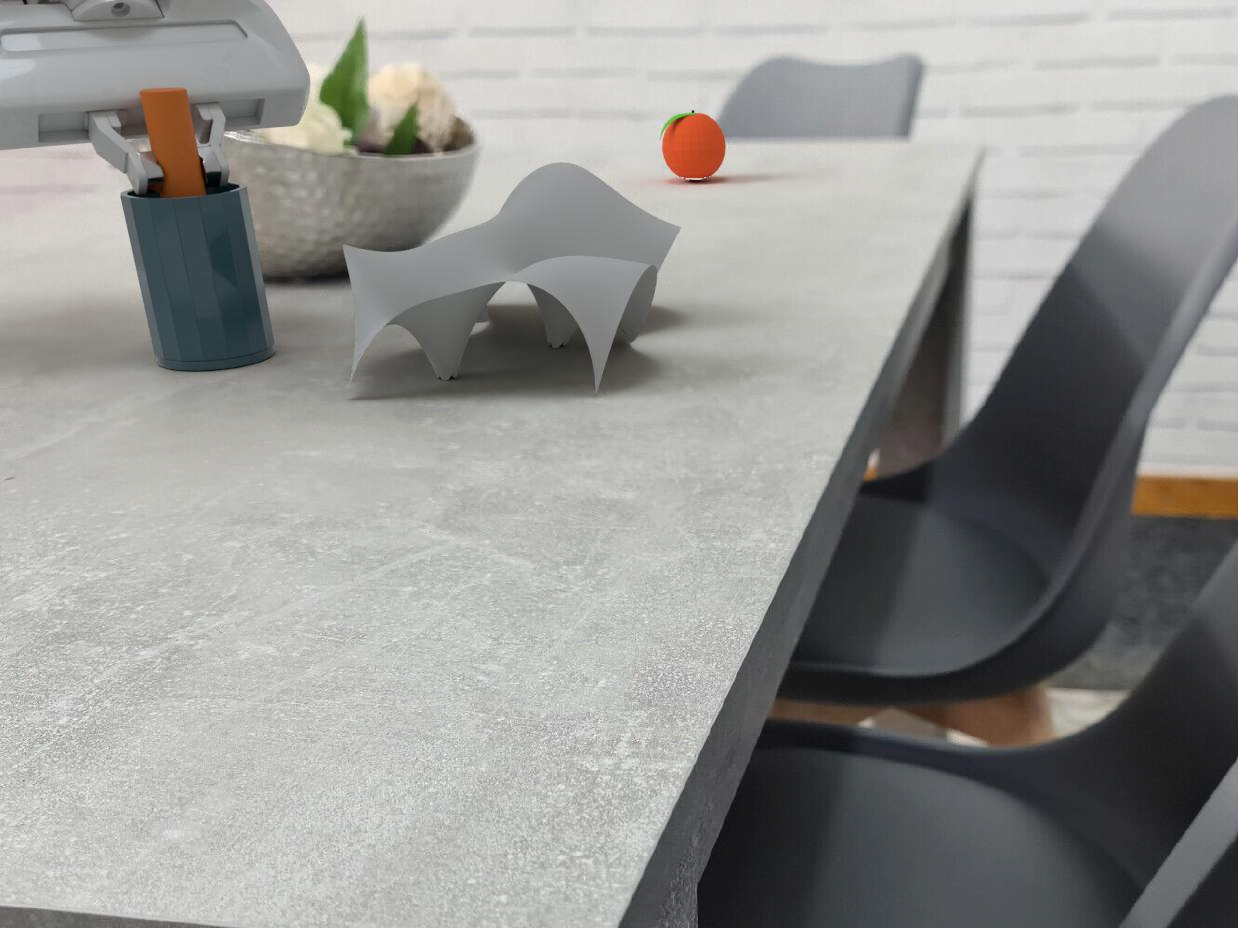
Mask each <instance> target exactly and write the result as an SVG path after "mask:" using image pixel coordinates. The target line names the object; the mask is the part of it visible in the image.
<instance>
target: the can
mask: <svg viewBox="0 0 1238 928" xmlns="http://www.w3.org/2000/svg"><path fill="white" fill-rule="evenodd" d="M205 191H206V195H200V196H188V197H172V198H161V196H160V192H157V193H149V194H141V195H137V194H136V193H135V191H134V189H133V188H130V189H127V190H124V191H121V192H120V195H119V197H120V202H121V207H122V211H123V216H124V220H125V224H126V229H127V233H128V239H129V243H130V248H131V251H132V257H133V261H134V267H135V269H136V275H137V279H138V284H139V288H140V289H139V290H140V293H141V299H142V302H143V307H144V312H145V316H146V317H145V318H146V320H147V321H146V322H147V325H148V330H149V335H150V340H151V344H152V349H153V353H154V356H155V360H156V363H157V365H158V366H159V367H161V368H164V369H168V370H174V371H186V372H187V371H188V372H199V371H200V372H202V371H203V372H205V371H216V370H226V369H233V368H238V367H239V368H240V367H244V366H249V365H253V364H256V363H260V362H262V361H265V360H267V359H269V358H271V357H272V356H274V354H275V353H276V347H275V339H274V333H273V328H272V321H271V316H270V310H269V305H268V298H267V292H266V288H265V287H266V286H265V281H264V276H263V270H262V266H261V265H262V264H261V260H260V254H259V249H258V247H259V246H258V241H257V238H256V231H255V226H254V219H253V213H252V208H251V203H250V197H249V192H248V186H247V184H245V183H241V182H236V181H228V185H227V186H219V187H208V188H205Z"/></svg>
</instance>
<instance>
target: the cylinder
mask: <svg viewBox="0 0 1238 928" xmlns="http://www.w3.org/2000/svg"><path fill="white" fill-rule="evenodd" d="M140 97H141V102H142V107H143V112H144V117H145V122H146V127H147V132H148V137H149V138H148V142H149V147H150V151H153V153H154V155H155V157H156V158H157V164H158V165H159V166H160V167H161V169H162V172H163V175H164V183H163V184H162V187H163V190H162V192H160V196H161V198H172V197H188V196H200V195H206V191H205V186H204V180H203V175H202V170H201V164H200V159H199V153H198V148H197V147H198V143H197V137H196V135H195V132H194V127H193V121H192V116H191V111H190V105H189V100H188V95H187V90H186V89H185V88H154V89H144V90H141V91H140Z"/></svg>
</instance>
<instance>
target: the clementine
mask: <svg viewBox="0 0 1238 928" xmlns="http://www.w3.org/2000/svg"><path fill="white" fill-rule="evenodd" d="M660 131H661V133H660V135H659V140H661V139H662V142H661V143H662V145H661V150H662V156H663V159H664V161H665V163H666V166H667V167H668V168H669V170H670V171H671V172H672V173H673V174H674V175H675V176H677V177H678V176H679V177H678V178H680V177H684V178H704V177H708V178H710V177H712V176H713V175H714V174H716V172H718V171H719V170H720V168H721V166H722V165H723V163H724V159H725V157H726V150H727V149H726V148H727V146H726V138H725V135H724V132H723V129H722V128H721V126H720V125H719V124H718V122H717V121H716V120H715V119H713V118H712V117H711V116H710V115H708V114H706V113H700V112H695V110H694V109H692V110H691V112H684V113H678V114H675V115H673V116H672V117H670V118H669V119H668V120H667V121H666V122H665V124H664V125H663V126H662V129H661V130H660ZM662 136H663V137H662ZM709 176H710V177H709Z"/></svg>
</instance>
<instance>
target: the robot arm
mask: <svg viewBox="0 0 1238 928" xmlns="http://www.w3.org/2000/svg"><path fill="white" fill-rule="evenodd" d="M293 40H294V39H292V37H291V34H289V32H288V30H287V28H286V27H285V26H284V24H283V22H282V21H281V19H280V18H279V16H278V14H277V13H276V12H275V11H274V9H273V8H272V7H271V5H269V4H268V3H267V1H266V0H0V151H11V150H22V149H34V148H35V149H36V148H45V147H58V146H68V145H82V144H92V147H93V149H94V151H95V154H96V155H97V156H99V157H100V158H102V160H104V161H106V162H107V163H108V164H110V165H111V166H113V167H114V168H115V169H116V170H118V171H120V172H121V173H123V174H125V175H126V176H127V178H128V181H129V183H130V185H131V188H132V189H134V191H135V193H136V194H137V195H141V194H149V193H157V192H162V190H163V187H162V184H163V183H164V175H163V172H162V169H161V167H160V166H159V165H158V164H157V158H156V157H155V155H154V153H153V151H151V150H147V151H145V150H144V151H140V150H138V148H136V147H135V146H134V145H133V144H131V143H130V142H129V141H130V140H140V139H149V137H148V132H147V127H146V122H145V117H144V112H143V107H142V102H141V97H140V91H141V90H144V89H154V88H185V89H186V90H187V95H188V100H189V105H190V111H191V116H192V121H193V127H194V132H195V137H196V140H197V141H198V143H199V144H200V145H201V146H197V148H198V153H199V159H200V164H201V170H202V175H203V180H204V186H205V188H208V187H219V186H227V185H228V182H229V180H230V179H229V178H230V173H231V172H230V167H229V163H228V161H227V159H226V157H225V154H224V152H223V151H222V146H223V145H222V144H223V139H224V133H225V132H238V131H239V132H240V131H248V130H260V129H262V130H263V129H273V128H287V127H289V128H290V127H294V126H295V127H296V126H297V125H299V124H300V122H301V121H302V118H303V116H304V114H305V111H306V109H307V105H308V102H309V98H310V93H311V76H310V73H309V69H308V68H307V65H306V63H305V60H304V59H303V56H302V54H301V53H300V51H299V49H298V47H297V46H296V44H295V42H294V41H293ZM202 145H203V146H202Z"/></svg>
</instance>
